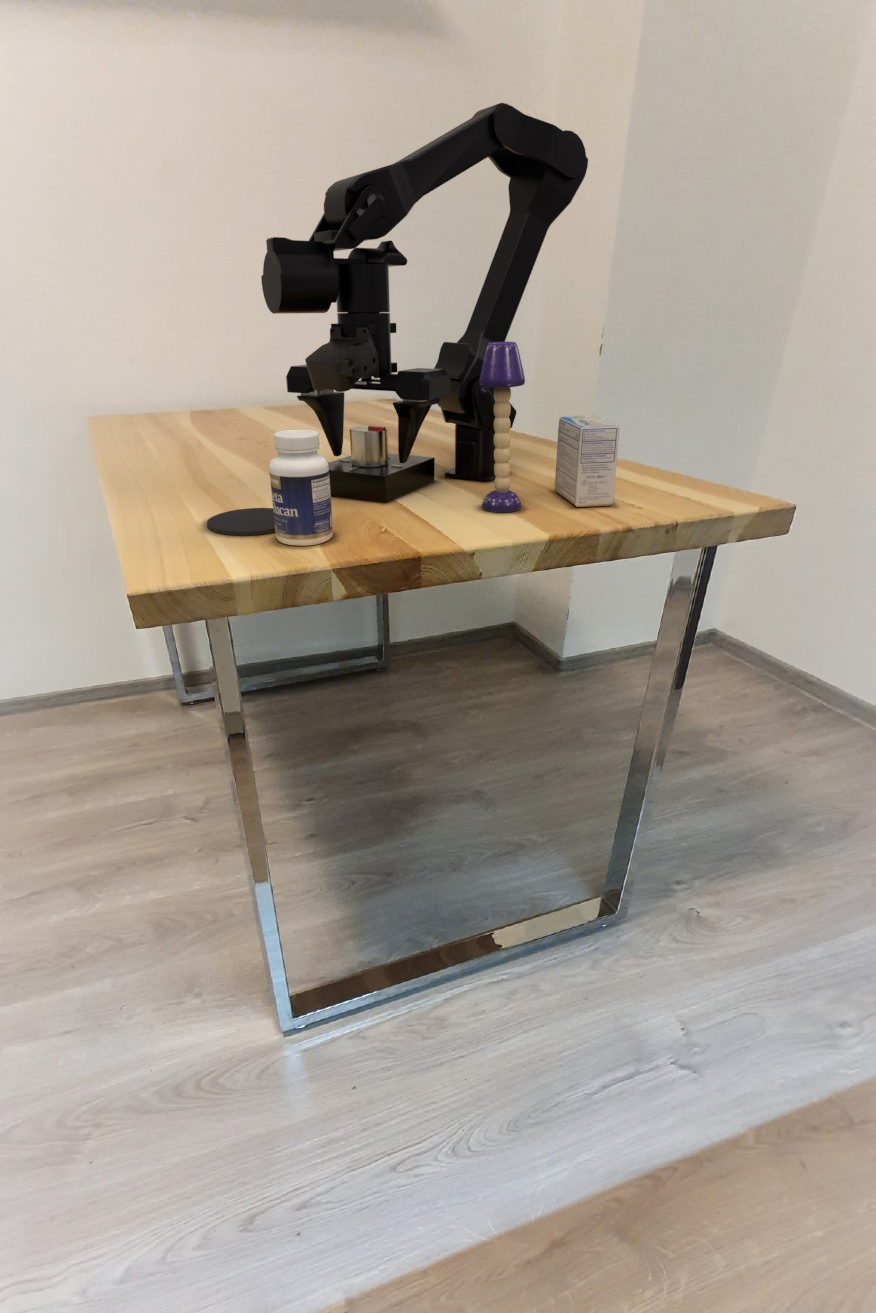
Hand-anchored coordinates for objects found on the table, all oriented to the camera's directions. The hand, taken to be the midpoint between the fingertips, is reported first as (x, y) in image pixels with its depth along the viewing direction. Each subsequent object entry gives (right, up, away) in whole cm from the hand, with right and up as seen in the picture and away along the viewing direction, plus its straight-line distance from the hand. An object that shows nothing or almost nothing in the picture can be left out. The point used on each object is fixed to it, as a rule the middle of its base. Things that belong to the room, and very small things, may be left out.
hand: (369, 459), depth 86 cm
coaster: (-11, -10, -11) cm, 19 cm away
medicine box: (+25, -5, -3) cm, 25 cm away
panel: (0, -3, +2) cm, 4 cm away
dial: (0, 0, 0) cm, 1 cm away
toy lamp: (+15, -7, -6) cm, 17 cm away
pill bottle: (-5, -12, -16) cm, 21 cm away
